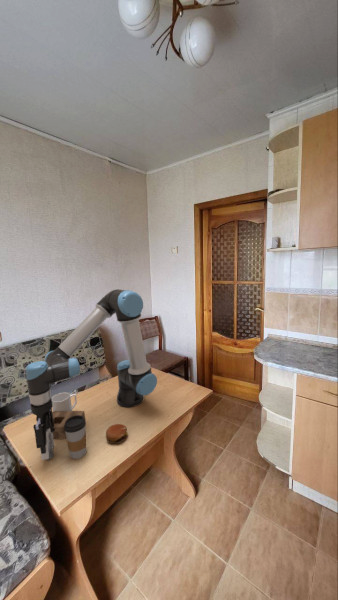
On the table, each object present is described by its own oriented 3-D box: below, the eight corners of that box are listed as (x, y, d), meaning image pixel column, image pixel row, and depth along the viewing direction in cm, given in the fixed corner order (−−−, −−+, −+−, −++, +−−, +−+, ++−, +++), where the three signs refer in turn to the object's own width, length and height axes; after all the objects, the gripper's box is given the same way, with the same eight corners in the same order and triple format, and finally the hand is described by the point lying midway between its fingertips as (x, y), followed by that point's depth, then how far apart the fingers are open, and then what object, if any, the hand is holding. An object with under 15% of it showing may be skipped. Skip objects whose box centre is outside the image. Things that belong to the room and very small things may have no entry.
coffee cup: (71, 447, 107) (67, 415, 104) (90, 445, 107) (87, 413, 105) (64, 462, 98) (60, 428, 96) (86, 460, 99) (82, 426, 97)
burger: (103, 435, 113) (103, 425, 113) (123, 427, 118) (122, 419, 117) (109, 449, 105) (108, 439, 104) (130, 440, 109) (129, 431, 108)
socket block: (85, 421, 123) (84, 410, 122) (75, 438, 112) (74, 426, 111) (54, 422, 124) (52, 411, 123) (41, 439, 112) (39, 427, 111)
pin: (55, 453, 104) (51, 427, 102) (51, 460, 100) (47, 433, 98) (46, 453, 104) (43, 427, 102) (42, 460, 100) (38, 433, 98)
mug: (57, 424, 122) (55, 403, 121) (51, 416, 129) (48, 397, 127) (81, 413, 130) (78, 394, 129) (74, 407, 137) (72, 388, 135)
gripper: (40, 389, 107) (46, 438, 110) (20, 416, 88) (29, 473, 92) (58, 387, 108) (64, 435, 111) (42, 413, 89) (50, 469, 93)
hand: (48, 452), depth 102 cm, fingers open, 6 cm apart
